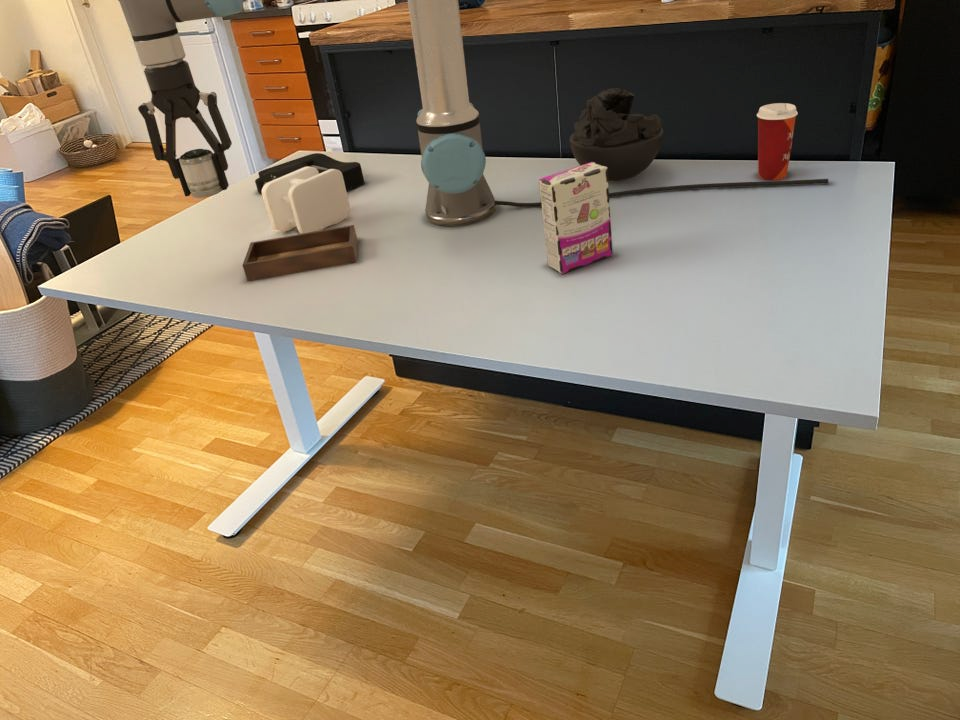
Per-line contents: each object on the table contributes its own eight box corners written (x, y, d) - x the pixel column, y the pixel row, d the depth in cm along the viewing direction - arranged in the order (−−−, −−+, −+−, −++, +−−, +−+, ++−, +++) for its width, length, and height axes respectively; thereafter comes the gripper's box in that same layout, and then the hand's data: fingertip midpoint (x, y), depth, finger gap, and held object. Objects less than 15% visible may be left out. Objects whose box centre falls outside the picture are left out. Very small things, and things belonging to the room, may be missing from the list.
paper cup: (797, 179, 152) (804, 109, 145) (759, 184, 153) (763, 114, 146) (784, 167, 159) (790, 100, 152) (748, 172, 160) (751, 105, 152)
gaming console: (254, 192, 195) (246, 165, 191) (318, 169, 205) (311, 143, 202) (306, 210, 177) (299, 181, 173) (373, 184, 187) (367, 156, 184)
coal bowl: (646, 158, 176) (644, 75, 166) (676, 184, 159) (677, 93, 149) (563, 173, 175) (557, 90, 165) (585, 201, 158) (579, 110, 148)
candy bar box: (597, 247, 137) (592, 160, 129) (613, 256, 133) (609, 166, 125) (545, 266, 134) (537, 177, 125) (560, 275, 130) (553, 184, 121)
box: (357, 240, 157) (353, 224, 155) (356, 262, 147) (352, 245, 145) (255, 257, 156) (250, 242, 154) (247, 281, 146) (242, 265, 144)
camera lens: (195, 201, 138) (181, 159, 134) (187, 193, 143) (173, 153, 139) (228, 191, 141) (215, 150, 137) (219, 184, 146) (206, 144, 142)
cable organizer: (302, 242, 160) (287, 190, 154) (272, 235, 166) (257, 184, 160) (353, 216, 169) (341, 166, 163) (323, 210, 175) (310, 162, 169)
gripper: (223, 51, 133) (260, 176, 145) (115, 68, 133) (161, 192, 145) (216, 58, 127) (255, 188, 139) (102, 76, 126) (151, 205, 138)
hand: (207, 190), depth 142 cm, fingers closed on camera lens, 6 cm apart
